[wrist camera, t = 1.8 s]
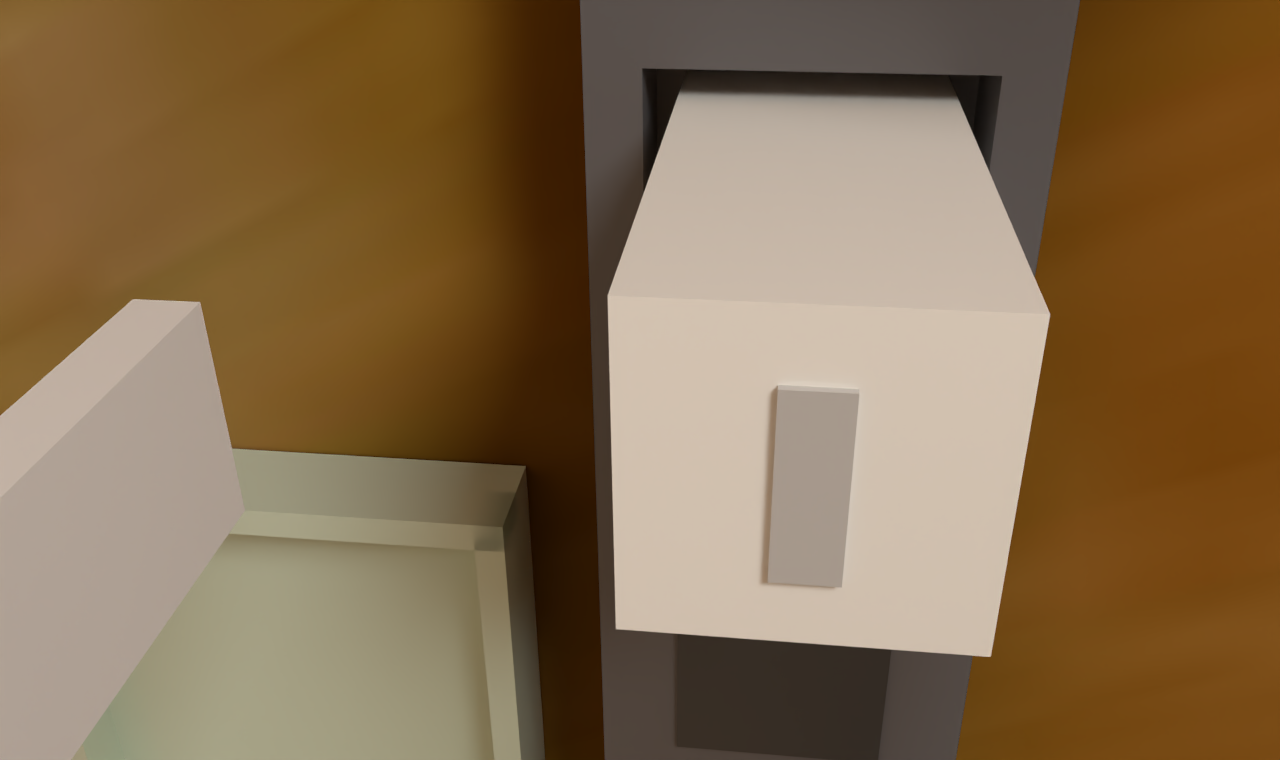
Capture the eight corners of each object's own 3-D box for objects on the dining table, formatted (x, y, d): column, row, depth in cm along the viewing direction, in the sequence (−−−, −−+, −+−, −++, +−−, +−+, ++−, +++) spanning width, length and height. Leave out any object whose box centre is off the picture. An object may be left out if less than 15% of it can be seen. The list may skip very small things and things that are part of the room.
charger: (921, 312, 21) (992, 663, 13) (685, 302, 21) (614, 634, 13) (948, 75, 19) (1052, 318, 11) (687, 69, 19) (606, 299, 11)
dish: (549, 830, 30) (532, 905, 28) (141, 791, 31) (98, 861, 29) (525, 465, 25) (502, 527, 23) (35, 437, 26) (-26, 493, 24)
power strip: (889, 1003, 32) (898, 1143, 28) (630, 975, 32) (611, 1108, 29) (1076, -275, 17) (1137, -279, 14) (605, -269, 18) (563, -271, 15)
